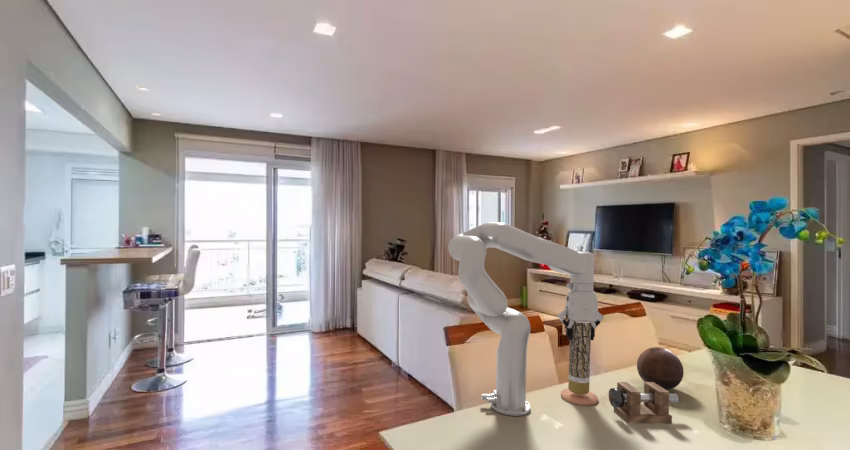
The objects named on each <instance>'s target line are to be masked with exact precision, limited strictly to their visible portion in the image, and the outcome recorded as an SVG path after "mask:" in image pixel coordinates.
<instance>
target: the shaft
mask: <svg viewBox="0 0 850 450" xmlns="http://www.w3.org/2000/svg"><path fill="white" fill-rule="evenodd" d="M608 400H609V404H610V405H611V407H613V409H614V408H622V407H623V406H624V402H627V394H623V393H622V391H621V390H620V389H619V388H617V387H615V388H614V387H611V388H610V389H609V391H608ZM679 400H680V398H679V395H678V394H677V393H669V403H671V402H672V403H678V402H679ZM644 402H655V394H644V393H641V403H644Z"/></svg>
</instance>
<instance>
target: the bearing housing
mask: <svg viewBox="0 0 850 450" xmlns="http://www.w3.org/2000/svg"><path fill="white" fill-rule="evenodd" d="M643 386H644V387H643V389H644V390H643V394H655V402H643V404H641V403H642V402H641V394H642V391H640V390H638V389H637V388H636V387H635V386H633V385H631V384H630V383H628V382H627V381H617V385H616V388H619V389H620V390H621V391H622V393H623V394H627V402H624V406H623V407H622V408H614V407H613V412H614V413H615V414H616V415H617V416H619V418H621V420H623V421H624V422H625V423H627V424H665V423H666V424H672V423H673V416H672V415H671V414H670V402H669V394H670V391H669V390H665V389H664V388H662V387H660V386H659V385H657V384H656V383H654V382H644V381H643Z"/></svg>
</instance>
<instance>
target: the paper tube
mask: <svg viewBox="0 0 850 450" xmlns="http://www.w3.org/2000/svg"><path fill="white" fill-rule="evenodd" d="M572 329H573V340H569V351H568V352H569V353H568V386H567V387H568V388H569V390H570V391H571V392H573V393H575V394H581V395H584V394H588V393H589V391H590V377H591V374H590V373H591V350H592V348H591V346H592V345H591V344H592V343H591V342H592V340H591V322H590V321H578V322H576V321H574V323H573V325H572Z"/></svg>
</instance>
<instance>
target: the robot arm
mask: <svg viewBox="0 0 850 450" xmlns="http://www.w3.org/2000/svg"><path fill="white" fill-rule="evenodd" d="M489 248H492V249H493V248H494V249H496V250H497V249H498V250H500V251H503V252H506V253H507V254H510V255H512V256H515V257H518V258H520V259H522V260H525V261H529V262H530V263H536V264H542V265H546V266H548V268H549V269H550V270H551V271H554V272H555V273H560V274H566V275H569V277H570V280H569V283H566V288H567V289H569V290H568V291H567V295H566V299H565V307H564V310H563V311H561V312H560V313H559V314H557V318H558V319H559V321H561V323H562V324H563V325H564V327H566V328H565V336H566V338H567V339H568V340H569V341H570V340H573V329H572V325H573V323H574V321H576V322H578V321H590V322H591V341H594V340H595V336H596V335H595V334H596V329H597V327H598V326H599V325H600V324H601V322H602V321H603V320H604V318H605V316H604V315H603V314H602V313H600V312H599V304H598V297H597V293H596V292H595V291H594V278H595V277H594V276H595V272H594V271H595V256H594V253H593V252H590V251H577V250H574V249H573V248H569V247H568V246H565V245H562V244H559V243H556V242H553V241H550V240H548V239H545V238H542V237H539V236H537V235H534V234H532V233H529V232H526V231H525V230H522V229H519V228H517V227H515V226H513V225H511V224H508V223H505V222H497V221H495V222H494V221H492V222H491V221H489V222H488V221H487V222H484V223H482V224H480V225H478V226H475V227H474V228H471V229H468V230H466V231H464V232H462V233H458V234H457V235H455V236H453V237H452V238H451V239H450V241H449V243H448V247H447V249H448V253H449V255H450V256H451V258H452V259H454V260H456V261H458V271H457V272H458V273H457V275H458V279H459V281H460V284H461V285H462V287H463V288H464V290H465V291H466V292H467V295H466V296H467V297H466V299H467V302H468V305H469V307H470V308H471V310H472V311H473V312H474V313H475V315H477V317H478V318H479V319H480V320H481V321H482V322H483V324H484V325H485V326H487V328H488V329H489V330H490V331H492V332H494V333H496V334H497V335H499V336H500V339H499V342H498V345H497V347H496V348H497V349H496V377H495V379H496V380H495V383H496V384H495V389H493V392H491V393H481V395H480V397H481V398H480V399H481V401H486V403H488V404H489V403H490V407H491V408H492V409H493V410H494V411H496V412H497V413H499V414H502V415H505V416H510V417H511V416H515V417H518V416H524V415H527V414H529V413H530V412H531V404H530V402H528V401H527V400H526V399H527V357H528V356H527V355H528V344H529V338H530V334H531V323H530V320H529V319H528V317H527V316H526V315H525V314H524V313H522V312H521V311H519V310H517V309H514V308H511V307H509V305H508V304H509V303H508V298H507V296H506V294H505V293H504V291H503V290H501V288H500V287H499V286H498V284H496V283H495V281H494V280H492V278H491V277H490V275H489V274H488V273H487V271H486V269H485V261H486V260H485V259H486V256H487V255H486V254H487V249H489ZM566 319H567V320H566Z"/></svg>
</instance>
